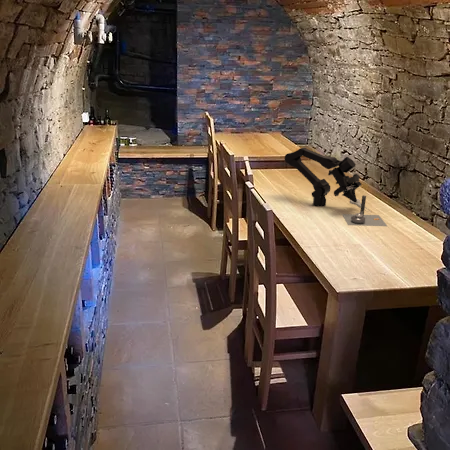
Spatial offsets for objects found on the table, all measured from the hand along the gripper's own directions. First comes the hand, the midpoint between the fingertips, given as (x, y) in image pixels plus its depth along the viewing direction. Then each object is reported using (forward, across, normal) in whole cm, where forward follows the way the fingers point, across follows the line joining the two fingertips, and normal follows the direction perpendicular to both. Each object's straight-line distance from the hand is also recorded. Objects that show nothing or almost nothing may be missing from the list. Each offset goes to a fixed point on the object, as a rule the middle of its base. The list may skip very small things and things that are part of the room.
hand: (356, 201), depth 262 cm
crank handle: (+9, -6, +1) cm, 11 cm away
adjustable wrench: (+2, +16, +11) cm, 19 cm away
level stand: (+11, -4, 0) cm, 12 cm away
